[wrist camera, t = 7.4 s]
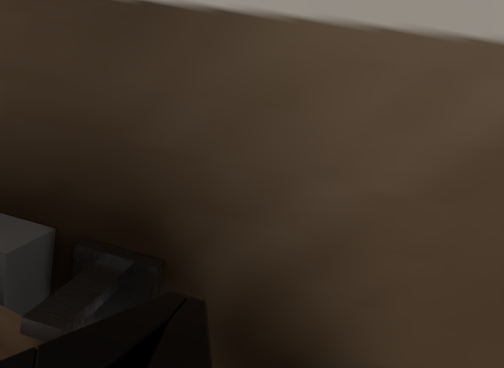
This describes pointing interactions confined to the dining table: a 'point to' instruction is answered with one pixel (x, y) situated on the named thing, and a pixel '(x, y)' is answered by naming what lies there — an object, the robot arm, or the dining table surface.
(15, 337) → the chute
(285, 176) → the dining table surface
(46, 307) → the stand
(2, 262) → the bin
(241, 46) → the dining table surface
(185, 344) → the robot arm
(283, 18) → the dining table surface
